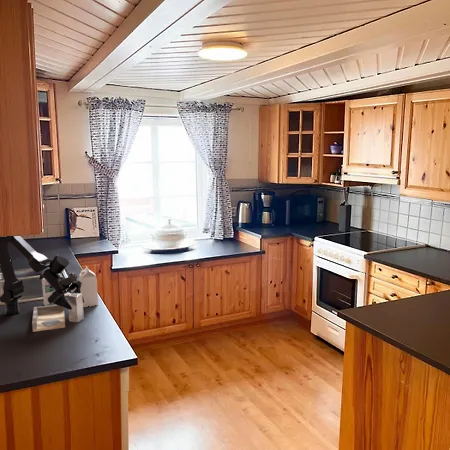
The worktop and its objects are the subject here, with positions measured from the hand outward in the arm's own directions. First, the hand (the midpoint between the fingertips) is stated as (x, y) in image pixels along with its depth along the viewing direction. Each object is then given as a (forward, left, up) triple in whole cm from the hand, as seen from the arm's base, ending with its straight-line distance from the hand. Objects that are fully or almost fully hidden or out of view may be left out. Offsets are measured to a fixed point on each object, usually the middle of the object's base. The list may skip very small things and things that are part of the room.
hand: (77, 305), depth 204 cm
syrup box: (-26, -12, -7) cm, 29 cm away
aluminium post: (-1, -1, -7) cm, 7 cm away
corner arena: (-4, -12, -7) cm, 15 cm away
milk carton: (-20, +6, -7) cm, 22 cm away
